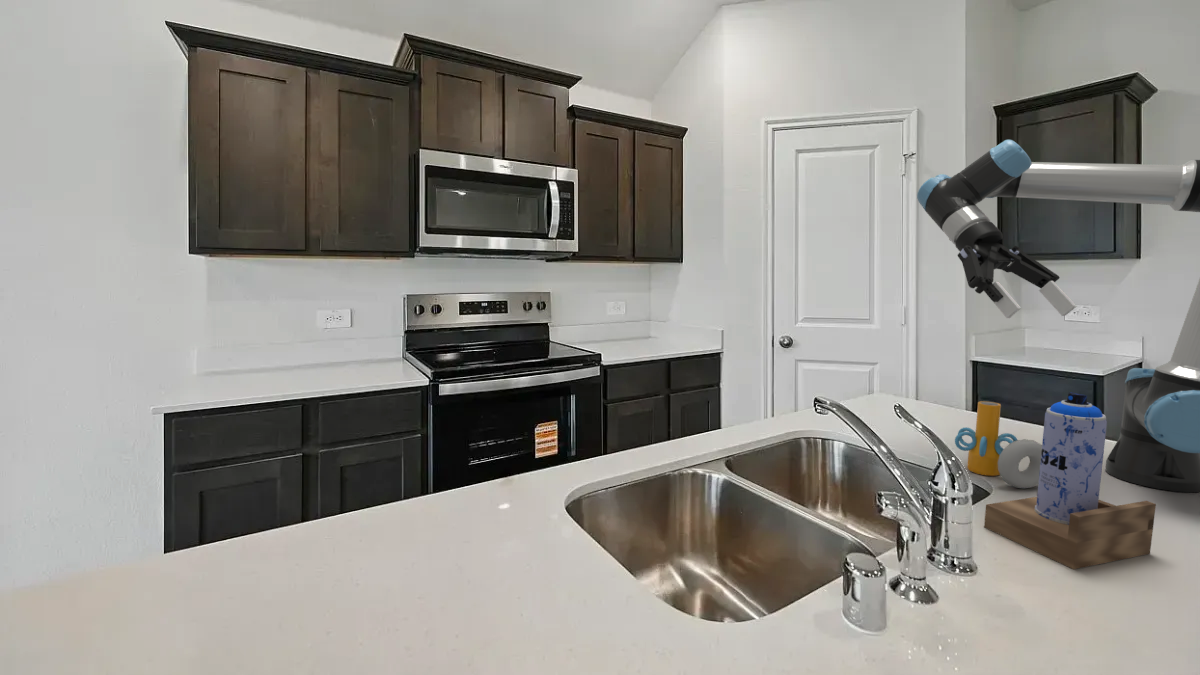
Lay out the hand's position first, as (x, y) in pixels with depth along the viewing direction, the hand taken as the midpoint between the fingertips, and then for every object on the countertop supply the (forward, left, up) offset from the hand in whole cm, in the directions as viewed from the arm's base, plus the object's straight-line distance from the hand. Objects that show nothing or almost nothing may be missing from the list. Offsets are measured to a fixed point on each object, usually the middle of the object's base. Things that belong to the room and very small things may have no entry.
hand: (1042, 312), depth 101 cm
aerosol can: (+10, +13, -32) cm, 36 cm away
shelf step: (+10, +14, -36) cm, 39 cm away
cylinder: (-6, -14, -36) cm, 39 cm away
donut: (-5, -4, -36) cm, 36 cm away
